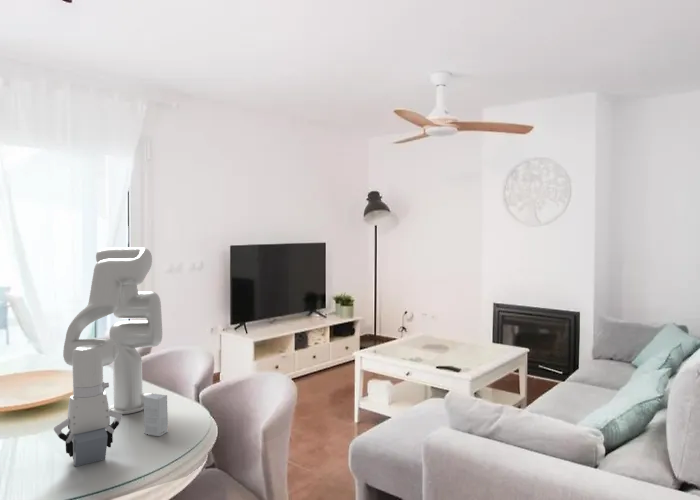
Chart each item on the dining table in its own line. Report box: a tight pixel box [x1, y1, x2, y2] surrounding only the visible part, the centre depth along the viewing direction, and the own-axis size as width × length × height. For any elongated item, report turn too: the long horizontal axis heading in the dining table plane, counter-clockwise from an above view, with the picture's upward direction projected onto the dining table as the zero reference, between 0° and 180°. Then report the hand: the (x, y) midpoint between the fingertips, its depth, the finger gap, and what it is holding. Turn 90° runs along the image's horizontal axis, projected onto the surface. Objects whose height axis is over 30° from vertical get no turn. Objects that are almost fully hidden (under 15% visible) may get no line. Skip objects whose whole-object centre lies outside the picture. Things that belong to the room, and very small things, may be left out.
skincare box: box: [143, 392, 169, 437], centre depth 166 cm, size 6×4×12 cm
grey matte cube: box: [71, 428, 108, 468], centre depth 146 cm, size 8×8×9 cm
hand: (89, 450), depth 146 cm, fingers open, 9 cm apart
